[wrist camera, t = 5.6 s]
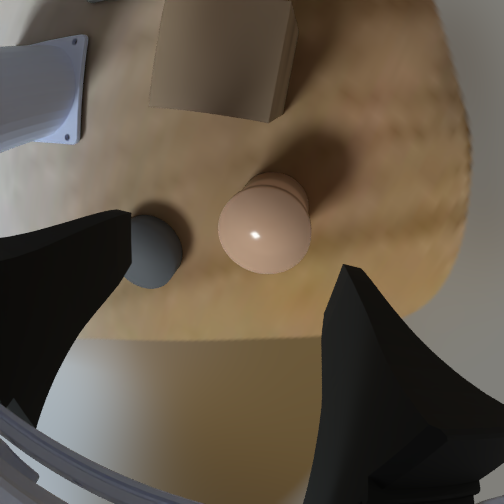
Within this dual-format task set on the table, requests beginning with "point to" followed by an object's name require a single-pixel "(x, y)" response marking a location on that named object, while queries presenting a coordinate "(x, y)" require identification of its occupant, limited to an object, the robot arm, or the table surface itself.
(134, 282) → the rubber puck
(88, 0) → the slate tile
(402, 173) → the table surface
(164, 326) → the table surface
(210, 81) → the walnut block
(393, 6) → the table surface
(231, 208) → the pink dome knob
